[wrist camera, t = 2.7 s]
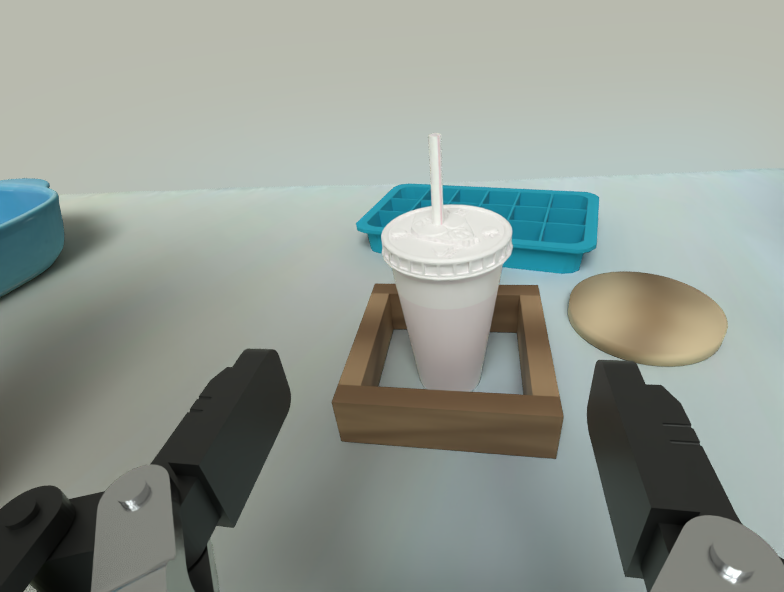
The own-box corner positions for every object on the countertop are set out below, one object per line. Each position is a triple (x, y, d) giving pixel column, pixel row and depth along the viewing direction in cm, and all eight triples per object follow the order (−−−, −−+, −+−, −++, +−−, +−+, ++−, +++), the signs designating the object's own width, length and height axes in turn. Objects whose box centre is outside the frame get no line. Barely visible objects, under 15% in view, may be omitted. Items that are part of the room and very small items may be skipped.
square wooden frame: (555, 458, 21) (563, 417, 19) (341, 441, 23) (331, 402, 21) (533, 322, 30) (537, 285, 28) (379, 318, 32) (374, 283, 30)
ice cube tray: (589, 285, 33) (596, 251, 32) (355, 257, 41) (350, 228, 39) (594, 222, 42) (599, 192, 40) (400, 208, 49) (398, 183, 48)
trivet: (565, 353, 27) (567, 340, 26) (569, 277, 34) (570, 266, 33) (740, 378, 24) (746, 365, 23) (705, 290, 31) (709, 278, 30)
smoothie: (455, 327, 30) (452, 113, 22) (527, 380, 25) (554, 131, 18) (377, 368, 27) (342, 141, 20) (441, 435, 23) (428, 172, 15)
